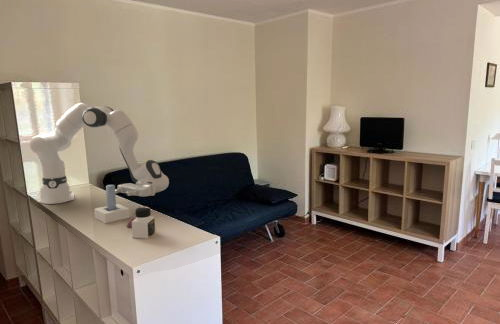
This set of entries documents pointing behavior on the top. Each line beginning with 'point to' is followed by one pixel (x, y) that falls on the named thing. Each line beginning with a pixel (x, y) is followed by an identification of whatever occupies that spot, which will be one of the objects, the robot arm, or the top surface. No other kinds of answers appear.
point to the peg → (111, 197)
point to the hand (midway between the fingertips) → (121, 192)
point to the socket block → (111, 213)
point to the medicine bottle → (143, 223)
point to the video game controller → (131, 222)
